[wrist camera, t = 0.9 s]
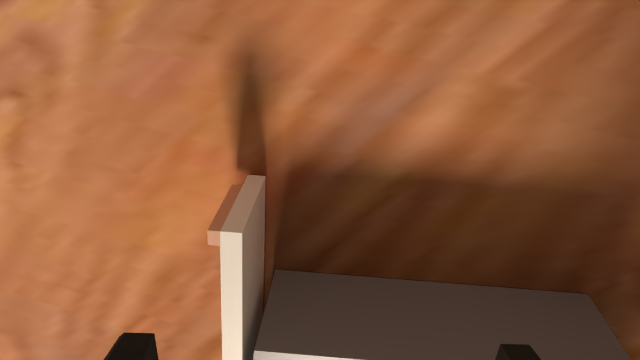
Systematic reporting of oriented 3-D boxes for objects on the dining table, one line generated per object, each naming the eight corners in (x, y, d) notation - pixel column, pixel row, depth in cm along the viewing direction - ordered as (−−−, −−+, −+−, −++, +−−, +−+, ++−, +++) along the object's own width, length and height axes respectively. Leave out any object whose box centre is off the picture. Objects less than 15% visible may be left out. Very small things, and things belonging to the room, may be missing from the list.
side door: (261, 433, 31) (242, 528, 26) (236, 431, 31) (212, 525, 26) (265, 175, 25) (242, 233, 20) (234, 173, 25) (203, 230, 20)
